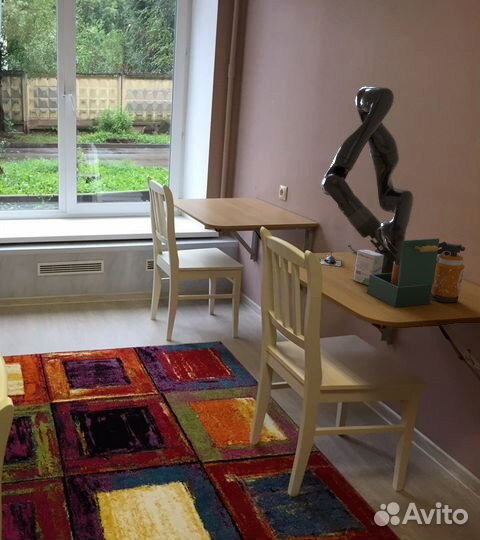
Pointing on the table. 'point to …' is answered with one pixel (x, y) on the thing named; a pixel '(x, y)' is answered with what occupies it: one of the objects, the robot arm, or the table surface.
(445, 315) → the table surface
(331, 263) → the bomb figurine
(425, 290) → the chest
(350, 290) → the table surface
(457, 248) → the canister
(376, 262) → the ink box
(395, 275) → the jar
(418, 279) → the lid
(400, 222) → the robot arm
